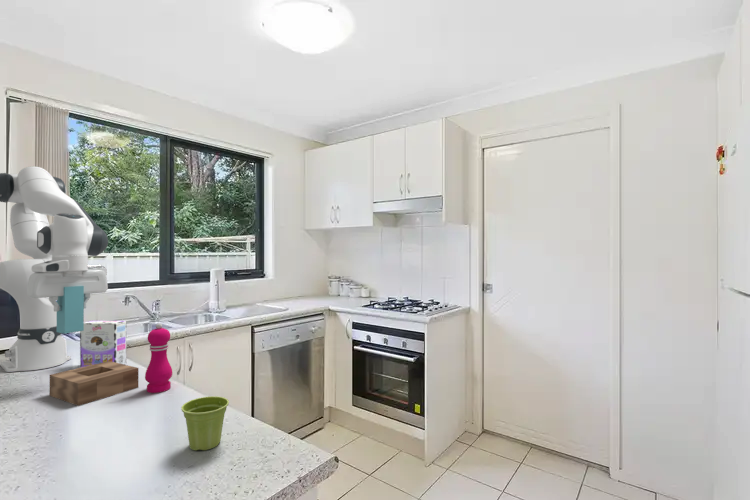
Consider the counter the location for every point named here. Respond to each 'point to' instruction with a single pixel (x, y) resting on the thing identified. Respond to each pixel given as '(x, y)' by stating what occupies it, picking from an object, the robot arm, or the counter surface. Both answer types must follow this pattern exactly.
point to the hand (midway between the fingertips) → (70, 309)
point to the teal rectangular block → (71, 310)
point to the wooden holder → (93, 382)
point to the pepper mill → (158, 361)
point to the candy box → (103, 342)
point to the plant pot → (205, 421)
